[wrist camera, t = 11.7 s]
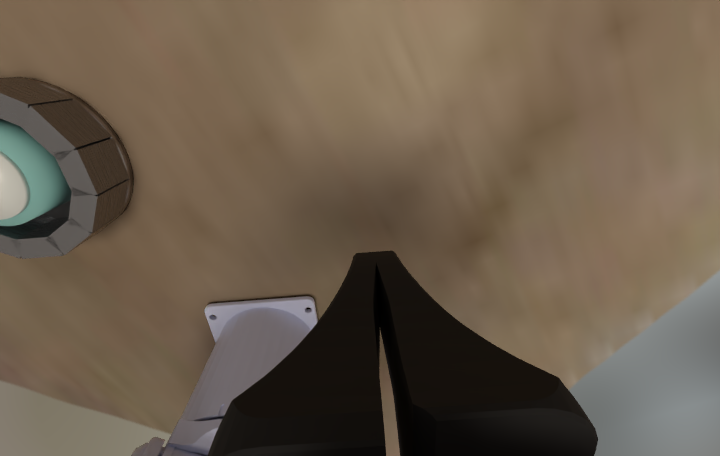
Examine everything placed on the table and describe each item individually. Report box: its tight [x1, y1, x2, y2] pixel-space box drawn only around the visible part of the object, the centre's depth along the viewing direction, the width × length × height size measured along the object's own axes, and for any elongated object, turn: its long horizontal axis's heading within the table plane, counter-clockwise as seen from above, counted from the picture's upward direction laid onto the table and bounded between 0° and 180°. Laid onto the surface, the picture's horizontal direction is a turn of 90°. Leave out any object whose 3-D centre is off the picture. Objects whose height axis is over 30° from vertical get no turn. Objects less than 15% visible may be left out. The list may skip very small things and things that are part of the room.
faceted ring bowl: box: [0, 77, 133, 259], centre depth 18 cm, size 9×9×3 cm
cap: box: [0, 119, 72, 226], centre depth 18 cm, size 5×5×4 cm
